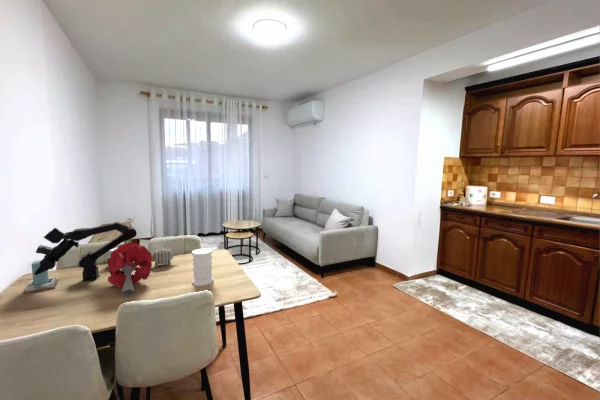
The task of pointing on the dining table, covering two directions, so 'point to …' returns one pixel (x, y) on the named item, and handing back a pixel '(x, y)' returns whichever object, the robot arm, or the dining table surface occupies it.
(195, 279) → the decorative container
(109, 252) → the small box
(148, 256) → the red model tree
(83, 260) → the robot arm
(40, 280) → the block
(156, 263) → the toy sheep
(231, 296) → the dining table surface
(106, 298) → the dining table surface
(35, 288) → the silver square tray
